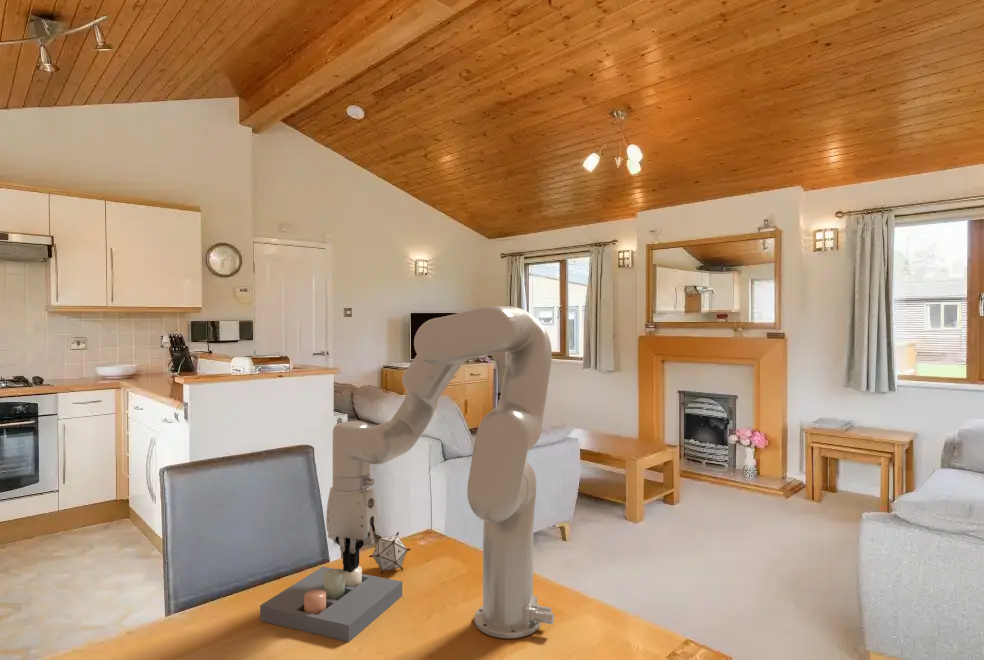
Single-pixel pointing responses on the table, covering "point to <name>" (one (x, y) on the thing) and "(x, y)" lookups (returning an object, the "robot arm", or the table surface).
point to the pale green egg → (334, 584)
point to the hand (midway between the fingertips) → (351, 569)
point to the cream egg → (353, 577)
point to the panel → (332, 606)
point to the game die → (389, 553)
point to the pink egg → (315, 601)
